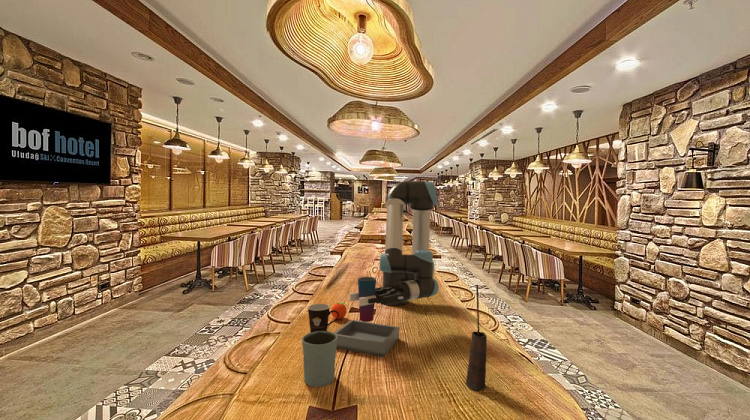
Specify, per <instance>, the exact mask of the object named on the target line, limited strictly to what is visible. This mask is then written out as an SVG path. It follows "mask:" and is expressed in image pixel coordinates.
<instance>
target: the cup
mask: <svg viewBox="0 0 750 420" xmlns="http://www.w3.org/2000/svg"><path fill="white" fill-rule="evenodd" d="M376 286H377V277H374V276H360V277H358V278H357V288H358V289H357V292H358V293H359V298H362V297H368V296H374V295H375V290H376V288H377V287H376ZM358 309H359V313H358V314H359V321H363V322H370V323H371V322H373V321H374V317H375V316H374V315H375V304H370V305H364V306H359V305H358Z"/></svg>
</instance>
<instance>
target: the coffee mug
mask: <svg viewBox="0 0 750 420" xmlns="http://www.w3.org/2000/svg"><path fill="white" fill-rule="evenodd" d="M330 307H331V306H330V305H329V304H326V303H314V304H310V305H308V307H307V311H308V320H309V321H308V323H309V329H310V332H309V333H312V332H317V331H328V327H329V326H330V325H332V324H333V323H335V322H336V321H337V320H339V319H338V317H339V313H338V312H337V311H335V310H332V311H331V308H330ZM332 312H336V313H337V315H338V316H337V318H336V319H335V318H334V320H332V321H330V322H329V317H330V315H331V313H332Z"/></svg>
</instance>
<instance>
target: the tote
mask: <svg viewBox="0 0 750 420" xmlns="http://www.w3.org/2000/svg"><path fill="white" fill-rule="evenodd" d="M333 333H335V334H336V335H337V347H336V349H340V350H341V349H342V350H345V351H351V352H357V353H360V354H361V353H362V354H365V355H366V354H367V355H370V356H376V357H379V358H385V357H387V355H388V354H389V352H390V351H391V350H392V349H393V347H394V346H395V345H396V343H397V342H398V341H399V339H400V327H399V326H395V325H388V324H383V323H382V324H381V323H375V322H371V321H370V322H363V321H361V320H356V319H351V320H349V321H348V322H347V323H345V324H344V325H342V326H341V327H340V328H339V329H337V330H335V331H334V332H333Z"/></svg>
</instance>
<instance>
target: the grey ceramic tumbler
mask: <svg viewBox="0 0 750 420" xmlns="http://www.w3.org/2000/svg"><path fill="white" fill-rule="evenodd" d="M301 338H302V339H301V341H302V342H301V343H302V345H301V346H302V354H303V358H302V360H303V361H302V362H303V379H304V382H305V384H306V385H308V386H309V387H312V388H322V387H327V386H329V385H330V384H332V383H333V382H334V379H335V376H336V375H335V373H336V365H335V364H336V355H337V348H336V347H337V335H336V334H335V333H334V332H331V331H328V330H327V331H317V332H312V333H311V332H309V333H307V334H305V335H304V336H302V337H301Z"/></svg>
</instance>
